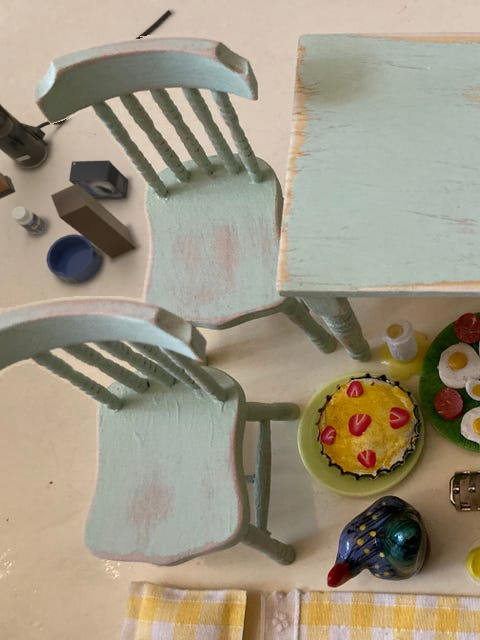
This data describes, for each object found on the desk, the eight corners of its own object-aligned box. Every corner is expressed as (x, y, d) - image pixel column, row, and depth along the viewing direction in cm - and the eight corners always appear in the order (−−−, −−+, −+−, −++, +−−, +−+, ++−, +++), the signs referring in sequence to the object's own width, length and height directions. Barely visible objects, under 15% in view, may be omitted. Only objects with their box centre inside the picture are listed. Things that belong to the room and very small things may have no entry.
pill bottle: (42, 236, 193) (23, 222, 185) (27, 233, 193) (6, 219, 185) (49, 221, 194) (29, 206, 186) (33, 218, 195) (13, 203, 187)
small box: (89, 200, 196) (67, 181, 186) (92, 180, 198) (70, 160, 187) (126, 199, 196) (106, 180, 185) (129, 179, 197) (109, 158, 187)
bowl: (68, 237, 193) (58, 229, 188) (109, 247, 191) (100, 240, 187) (49, 277, 189) (38, 270, 185) (90, 288, 188) (81, 281, 184)
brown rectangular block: (104, 238, 192) (50, 195, 169) (127, 228, 193) (77, 183, 170) (112, 259, 190) (59, 217, 167) (136, 247, 191) (86, 205, 168)
